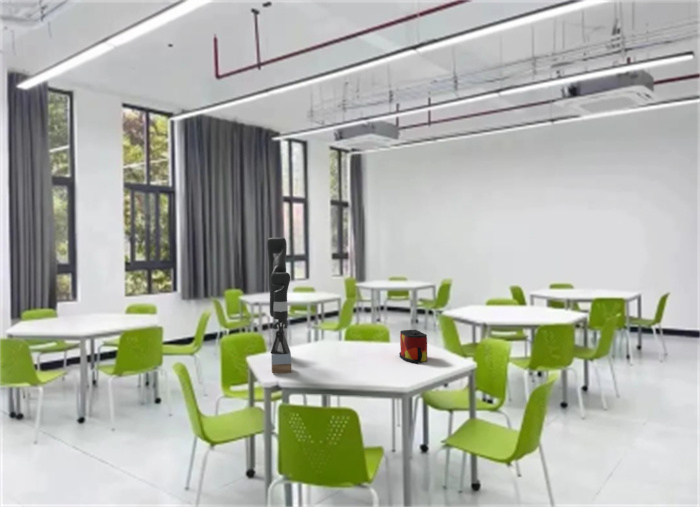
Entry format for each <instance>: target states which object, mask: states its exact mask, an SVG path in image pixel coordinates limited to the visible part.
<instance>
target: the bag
mask: <svg viewBox="0 0 700 507" xmlns="http://www.w3.org/2000/svg"><path fill="white" fill-rule="evenodd" d="M399 335H400V336H399V338H400V340H399V341H400V342H399V343H400V352H399V358H400V360H402V361H403V362H406V363H411V364H414V365H417V364H421V363H427V361H428V337H427V334H426V333H424V332H421V331H420V330H416V329H405V330H400V333H399Z"/></svg>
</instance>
